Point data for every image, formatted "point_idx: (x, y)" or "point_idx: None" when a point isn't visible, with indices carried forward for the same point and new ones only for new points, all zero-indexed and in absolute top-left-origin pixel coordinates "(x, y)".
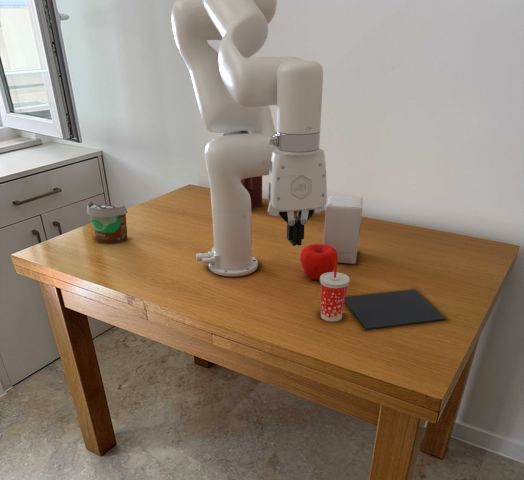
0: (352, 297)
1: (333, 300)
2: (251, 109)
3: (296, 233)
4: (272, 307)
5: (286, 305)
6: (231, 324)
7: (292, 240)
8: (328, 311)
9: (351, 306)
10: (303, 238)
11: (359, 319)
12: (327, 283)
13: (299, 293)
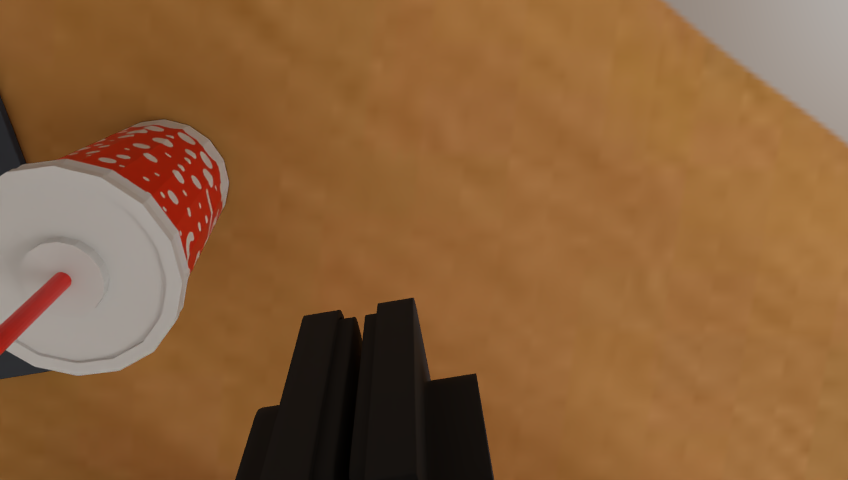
0: None
1: (119, 149)
2: None
3: (368, 401)
4: (491, 289)
5: None
6: (742, 119)
7: (422, 369)
8: (173, 139)
9: None
10: (265, 407)
11: (2, 119)
12: (125, 194)
13: None
